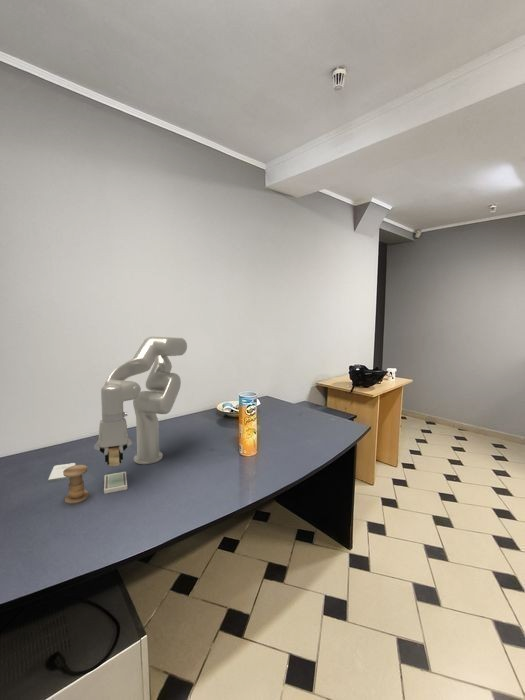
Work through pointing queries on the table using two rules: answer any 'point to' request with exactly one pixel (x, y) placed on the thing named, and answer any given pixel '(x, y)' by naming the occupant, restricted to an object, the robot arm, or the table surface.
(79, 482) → the bobbin
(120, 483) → the board
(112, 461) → the wooden block
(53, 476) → the external hard drive
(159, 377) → the robot arm
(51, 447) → the table surface
